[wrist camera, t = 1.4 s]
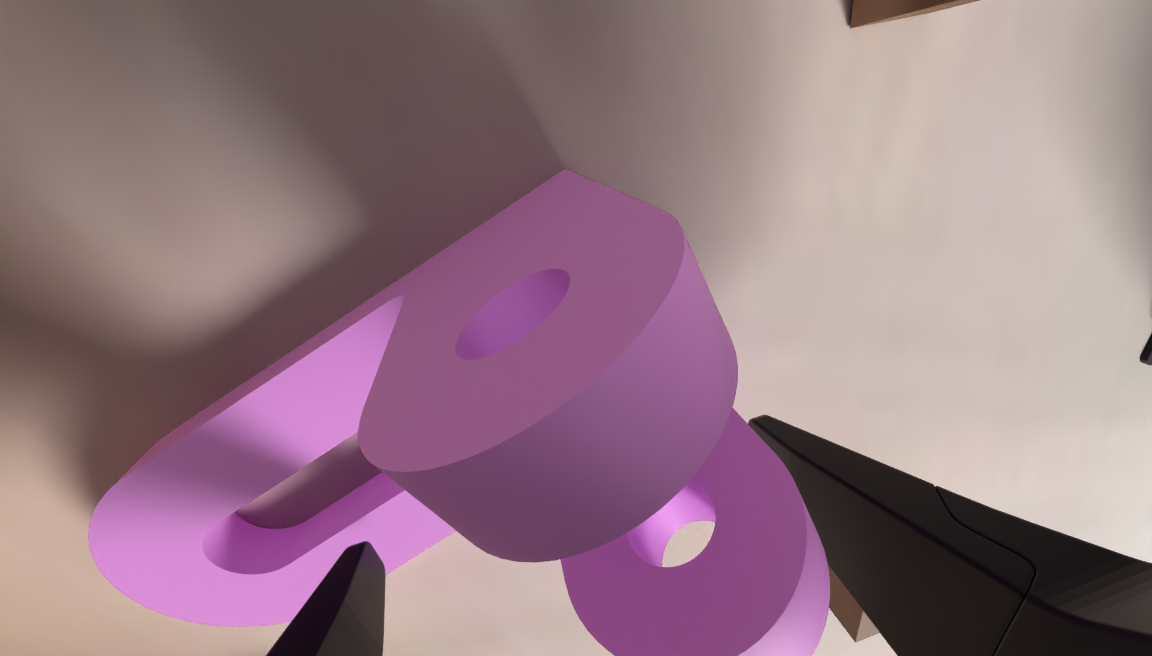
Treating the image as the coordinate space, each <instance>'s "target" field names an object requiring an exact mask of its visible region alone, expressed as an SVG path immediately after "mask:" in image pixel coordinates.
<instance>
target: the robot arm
mask: <svg viewBox="0 0 1152 656" xmlns="http://www.w3.org/2000/svg"><path fill="white" fill-rule="evenodd" d="M1140 362H1142V363H1145V364H1147V365H1152V335H1151V337H1150V339H1149V341H1148V343H1147V345H1146V347H1145V349H1144V350H1143V352H1142V354H1141V357H1140ZM748 425H749V426H750V427H751V428H752V429H753V430H754V431H755V432H756V433H757V434H758V436H759V437H760V438H761V439H762V440H763V441H764V442H765V443H766V444H767V445H768V446H769V447H770V448H771V449H772V450H773V451H774V453H775V454H776V455H777V456H778V457H779V458H780V460H781V461H782V462H783V463H784V465H785V466H786V468H787V469H788V471H789V472H790V474H791V476H792V478H793V480H794V482H795V484H796V486H797V488H798V490H799V492H800V495H801V497H802V499H803V501H804V504H805V506H806V508H807V510H808V512H809V515H810V517H811V519H812V521H813V524H814V526H815V528H816V530H817V533H818V535H819V537H820V540H821V543H822V545H823V548H824V551H825V555H826V559H827V563H828V566H829V567H830V568H831V570H832V571H833V572H834V574H835V575H836V576H837V578H838V579H839V580H840V581H841V583H842V584H843V585H844V587H845V588H846V589H847V591H848V592H849V593H850V594H851V596H852V597H853V598H854V600H855V601H856V602H857V604H858V605H859V606H860V607H861V609H862V610H863V611H864V613H865V614H866V615H867V617H868V618H869V619H870V620H871V622H872V623H873V624H874V626H875V627H876V628H877V630H878V631H879V632H880V633H881V635H882V636H883V637H884V639H885V640H886V641H887V643H888V644H889V645H890V647H891V648H892V649H893V650H894V652H895V653H896V654H897V656H1152V563H1149V562H1145V561H1141V560H1138V559H1135V558H1132V557H1129V556H1126V555H1123V554H1120V553H1117V552H1114V551H1111V550H1108V549H1106V548H1103V547H1100V546H1097V545H1094V544H1091V543H1089V542H1086V541H1083V540H1080V539H1077V538H1074V537H1071V536H1069V535H1066V534H1063V533H1060V532H1057V531H1054V530H1052V529H1049V528H1046V527H1043V526H1040V525H1037V524H1034V523H1032V522H1029V521H1026V520H1023V519H1021V518H1018V517H1015V516H1012V515H1010V514H1007V513H1004V512H1001V511H999V510H996V509H993V508H991V507H988V506H986V505H983V504H981V503H978V502H976V501H973V500H971V499H968V498H966V497H963V496H961V495H958V494H956V493H953V492H951V491H949V490H946V489H944V488H941V487H939V486H936V487H935V486H934V485H933V484H931V483H929V482H927V481H924V480H922V479H919V478H917V477H915V476H912V475H910V474H907V473H905V472H903V471H900V470H898V469H895V468H893V467H891V466H888V465H886V464H883V463H881V462H878V461H876V460H874V459H871V458H869V457H866V456H864V455H862V454H859V453H857V452H854V451H852V450H850V449H847V448H845V447H842V446H840V445H838V444H835V443H833V442H830V441H828V440H826V439H823V438H821V437H818V436H816V435H814V434H811V433H809V432H806V431H804V430H802V429H799V428H797V427H794V426H792V425H790V424H787V423H785V422H782V421H780V420H778V419H775V418H773V417H770V416H768V415H762V416H758V417H755V418H752V419H750V420H749V422H748ZM384 608H385V567H384V564H383V562H382V560H381V559H380V557H379V555H378V554H377V552H376V551H375V549H374V548H373V546H372V544H371V543H370V542H368V541H363V542H360V543H357V544H354V545H351V546H349V547H347V548H346V549H345V550H344V551H343V553H342V554H341V555H340V557H339V558H338V560H337V561H336V562H335V564H334V565H333V566H332V568H331V569H330V570H329V572H328V573H327V574H326V576H325V577H324V578H323V580H322V581H321V582H320V584H319V585H318V586H317V588H316V589H315V590H314V592H313V593H312V594H311V596H310V597H309V598H308V600H307V601H306V603H305V604H304V605H303V607H302V608H301V609H300V611H299V612H298V613H297V615H296V616H295V617H294V619H293V620H292V621H291V623H290V624H289V625H288V627H287V628H286V629H285V631H284V632H283V633H282V635H281V636H280V637H279V639H278V640H277V641H276V643H275V644H274V646H273V647H272V648H271V650H270V651H269V652H268V654H267V655H266V656H382V654H383V640H384Z"/></svg>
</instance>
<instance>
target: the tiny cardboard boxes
mask: <svg viewBox="0 0 1152 656" xmlns="http://www.w3.org/2000/svg"><path fill="white" fill-rule="evenodd" d="M975 1H979V0H853V5H852V15H851V25H850V28H854V27H859V26H864V25H870V24H875V23H880V22H885V21H890V20H895V19H900V18H905V17H910V16H915V15H920V14H925V13H930V12H935V11H939V10H943V9H947V8H951V7H955V6H959V5H963V4H967V3H971V2H975ZM828 569H829V577H830V601H829V608H830V609H831V611H832V612H833V613H834V615H835V616H836V617H837V619H838V620H839V621H840V623H841V624H842V625H843V627H844V628H845V629H846V631H847V632H848V633H849V635H850V636H851V637H852V639H853V640H854V641H855V642H858V641H860V640H863V639H865V638H868V637H870V636H873V635H875V634H878V633H880V632H879V631H878V630H877V628H876V627H875V626H874V624H873V623H872V622H871V620H870V619H869V618H868V617H867V615H866V614H865V613H864V611H863V610H862V609H861V607H860V606H859V605H858V604H857V602H856V601H855V600H854V598H853V597H852V596H851V594H850V593H849V592H848V591H847V589H846V588H845V587H844V585H843V584H842V583H841V581H840V580H839V579H838V578H837V576H836V575H835V574H834V572H833V571H832V570H831V568H830V567H829V566H828Z"/></svg>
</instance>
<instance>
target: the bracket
mask: <svg viewBox="0 0 1152 656" xmlns="http://www.w3.org/2000/svg"><path fill="white" fill-rule="evenodd" d="M737 381H738V365H737V358H736V352H735V349H734V346H733V343H732V340H731V338H730V335H729V333H728V331H727V329H726V326H725V324H724V322H723V320H722V317H721V315H720V313H719V311H718V309H717V306H716V304H715V302H714V300H713V297H712V295H711V293H710V291H709V288H708V286H707V284H706V282H705V279H704V277H703V275H702V273H701V270H700V268H699V266H698V264H697V261H696V259H695V257H694V255H693V252H692V250H691V248H690V246H689V244H688V241H687V239H686V237H685V235H684V232H683V230H682V228H681V226H680V225H679V223H678V221H677V220H676V219H675V218H674V217H673V216H672V215H670V214H668V213H666V212H665V211H663V210H660V209H658V208H656V207H653V206H651V205H649V204H646V203H644V202H642V201H639V200H637V199H635V198H632V197H630V196H628V195H625V194H623V193H621V192H618V191H616V190H614V189H611V188H609V187H607V186H604V185H602V184H600V183H597V182H595V181H593V180H590V179H588V178H586V177H583V176H581V175H579V174H576V173H574V172H572V171H569V170H567V169H563V170H562V171H560V172H559V173H557V174H556V175H554V176H553V177H551V178H550V179H548V180H547V181H545V182H544V183H542V184H541V185H539V186H538V187H536V188H535V189H533V190H532V191H530V192H529V193H527V194H526V195H524V196H523V197H521V198H520V199H518V200H517V201H515V202H514V203H512V204H511V205H509V206H508V207H506V208H505V209H503V210H502V211H500V212H499V213H497V214H496V215H494V216H493V217H491V218H490V219H488V220H487V221H485V222H484V223H482V224H481V225H479V226H478V227H476V228H475V229H473V230H472V231H470V232H469V233H467V234H466V235H464V236H463V237H461V238H460V239H458V240H457V241H455V242H454V243H452V244H451V245H449V246H448V247H446V248H445V249H443V250H442V251H440V252H439V253H437V254H436V255H434V256H433V257H431V258H430V259H428V260H427V261H425V262H424V263H422V264H421V265H419V266H418V267H416V268H415V269H413V270H412V271H410V272H409V273H407V274H406V275H404V276H403V277H401V278H400V279H398V280H397V281H395V282H394V283H392V284H391V285H389V286H388V287H386V288H385V289H383V290H382V291H380V292H379V293H377V294H376V295H374V296H373V297H371V298H370V299H368V300H367V301H365V302H364V303H362V304H361V305H359V306H358V307H356V308H355V309H353V310H352V311H350V312H349V313H347V314H346V315H344V316H343V317H341V318H340V319H338V320H337V321H335V322H334V323H332V324H331V325H329V326H328V327H326V328H325V329H323V330H322V331H320V332H319V333H317V334H316V335H314V336H313V337H311V338H310V339H308V340H307V341H305V342H304V343H302V344H301V345H299V346H298V347H296V348H295V349H293V350H292V351H290V352H289V353H287V354H286V355H284V356H283V357H281V358H280V359H278V360H277V361H275V362H274V363H272V364H271V365H269V366H268V367H266V368H265V369H263V370H262V371H260V372H259V373H257V374H256V375H254V376H253V377H251V378H250V379H248V380H247V381H245V382H244V383H242V384H241V385H239V386H238V387H236V388H235V389H233V390H232V391H230V392H229V393H227V394H226V395H224V396H223V397H221V398H220V399H218V400H217V401H215V402H214V403H212V404H211V405H209V406H208V407H206V408H205V409H203V410H202V411H200V412H199V413H197V414H196V415H194V416H193V417H191V418H190V419H188V420H187V421H185V422H184V423H182V424H181V425H179V426H178V427H176V428H175V429H173V430H172V431H170V432H169V433H168V434H166V435H165V436H164V437H162V438H161V439H160V440H158V441H157V442H156V443H155V444H154V445H153V446H152V447H151V448H150V449H149V450H148V451H147V452H146V453H145V454H144V455H143V456H142V457H141V458H140V459H139V460H138V461H137V462H136V463H135V464H134V465H133V466H132V467H131V468H130V469H129V470H128V471H127V472H126V473H125V474H124V475H123V476H122V477H121V478H120V479H119V480H118V481H117V482H116V483H115V484H114V485H113V486H112V487H111V488H110V489H109V490H108V491H107V492H106V493H105V495H104V496H103V497H102V499H101V500H100V501H99V503H98V504H97V506H96V508H95V510H94V512H93V514H92V517H91V520H90V524H89V531H88V540H89V548H90V551H91V554H92V557H93V559H94V561H95V563H96V565H97V567H98V569H99V570H100V571H101V573H102V574H103V575H104V577H105V578H106V579H107V580H108V581H109V582H110V583H111V584H112V585H113V586H114V587H115V588H117V589H118V590H119V591H120V592H121V593H123V594H124V595H126V596H127V597H129V598H130V599H132V600H133V601H135V602H137V603H139V604H141V605H143V606H145V607H147V608H149V609H151V610H154V611H156V612H159V613H161V614H164V615H167V616H170V617H173V618H177V619H181V620H185V621H190V622H195V623H200V624H208V625H216V626H231V627H248V626H263V625H272V624H278V623H284V622H289V621H292V620H293V619H294V617H295V616H296V615H297V613H298V612H299V611H300V609H301V608H302V607H303V605H304V604H305V603H306V601H307V600H308V598H309V597H310V596H311V594H312V593H313V592H314V590H315V589H316V588H317V586H318V585H319V584H320V582H321V581H322V580H323V578H324V577H325V576H326V574H327V573H328V572H329V570H330V569H331V568H332V566H333V565H334V564H335V562H336V561H337V560H338V558H339V557H340V555H341V554H342V553H343V551H344V550H345V549H346V548H347V547H349V546H351V545H354V544H357V543H360V542H363V541H368V542H370V543H371V544H372V546H373V548H374V549H375V551H376V552H377V554H378V555H379V557H380V559H381V560H382V562H383V564H384V567H385V575H387V574H388V573H390V572H391V571H393V570H394V569H396V568H398V567H399V566H401V565H402V564H404V563H406V562H407V561H409V560H410V559H412V558H414V557H415V556H417V555H418V554H420V553H421V552H423V551H425V550H426V549H428V548H429V547H431V546H433V545H434V544H436V543H437V542H439V541H441V540H442V539H444V538H445V537H447V536H448V535H450V534H452V533H453V532H455V531H457V532H459V533H460V534H461V535H462V536H464V537H465V538H466V539H468V540H469V541H470V542H471V543H473V544H474V545H475V546H477V547H478V548H480V549H481V550H483V551H485V552H486V553H488V554H491V555H494V556H496V557H499V558H502V559H507V560H512V561H517V562H543V561H553V560H559V559H561V564H562V569H563V573H564V578H565V583H566V586H567V590H568V594H569V597H570V599H571V602H572V604H573V607H574V609H575V611H576V613H577V615H578V616H579V618H580V620H581V621H582V623H583V624H584V626H585V627H586V629H587V630H588V631H589V632H590V634H591V635H592V636H593V637H594V638H595V639H596V640H597V641H598V642H599V643H600V644H601V645H602V646H603V647H605V648H606V649H607V650H608V651H609V652H611V653H612V654H613V655H614V656H812V655H813V653H814V651H815V649H816V647H817V645H818V643H819V641H820V638H821V636H822V633H823V630H824V627H825V624H826V619H827V615H828V611H829V601H830V577H829V569H828V563H827V559H826V555H825V551H824V548H823V545H822V543H821V540H820V537H819V535H818V533H817V530H816V528H815V526H814V524H813V521H812V519H811V517H810V515H809V512H808V510H807V508H806V506H805V504H804V501H803V499H802V497H801V495H800V492H799V490H798V488H797V486H796V484H795V482H794V480H793V478H792V476H791V474H790V472H789V471H788V469H787V468H786V466H785V465H784V463H783V462H782V461H781V460H780V458H779V457H778V456H777V455H776V454H775V453H774V451H773V450H772V449H771V448H770V447H769V446H768V445H767V444H766V443H765V442H764V441H763V440H762V439H761V438H760V437H759V436H758V434H757V433H756V432H755V431H754V430H753V429H752V428H751V427H750V426H749V425H748V424H747V423H746V422H745V421H744V420H743V419H742V417H741V416H740V415H739V414H738V413H737V412H736V411H735V410H734V409H733V408H732V406H733V403H734V400H735V394H736V388H737ZM357 432H358V441H359V445H360V449H361V451H362V453H363V455H364V457H365V458H366V459H367V460H368V461H369V462H370V463H371V464H373V465H374V466H375V467H376V468H378V469H379V470H380V471H381V473H380V474H378V475H376V476H375V477H373V478H372V479H370V480H369V481H367V482H366V483H364V484H362V485H361V486H359V487H358V488H356V489H355V490H353V491H352V492H350V493H349V494H347V495H345V496H344V497H342V498H341V499H339V500H338V501H336V502H335V503H333V504H331V505H330V506H328V507H327V508H325V509H324V510H322V511H321V512H319V513H317V514H316V515H314V516H313V517H311V518H310V519H308V520H307V521H305V522H303V523H301V524H299V525H296V526H293V527H289V528H283V529H268V528H262V527H258V526H255V525H252V524H250V523H248V522H246V521H244V520H243V519H241V518H240V517H239V516H238V515H237V514H236V513H235V511H237V510H238V509H240V508H241V507H243V506H245V505H246V504H248V503H249V502H251V501H252V500H254V499H255V498H257V497H258V496H260V495H261V494H263V493H265V492H266V491H268V490H269V489H271V488H272V487H274V486H275V485H277V484H278V483H280V482H281V481H283V480H285V479H286V478H288V477H289V476H291V475H292V474H294V473H295V472H297V471H298V470H300V469H301V468H303V467H305V466H306V465H308V464H309V463H311V462H312V461H314V460H315V459H317V458H318V457H320V456H321V455H323V454H325V453H326V452H328V451H329V450H331V449H332V448H334V447H335V446H337V445H338V444H340V443H341V442H343V441H344V440H346V439H348V438H349V437H351V436H352V435H354V434H355V433H357ZM695 521H712V522H715V528H714V532H713V535H712V537H711V539H710V541H709V543H708V544H707V546H706V547H705V549H704V550H703V551H702V552H701V553H700V554H699V555H698V556H697V557H695V558H694V559H693V560H691V561H689V562H687V563H685V564H683V565H680V566H676V567H662V559H663V553H664V550H665V547H666V545H667V543H668V541H669V539H670V538H671V537H672V535H673V534H674V533H675V532H676V531H677V530H678V529H680V528H681V527H683V526H684V525H686V524H689V523H691V522H695Z"/></svg>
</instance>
